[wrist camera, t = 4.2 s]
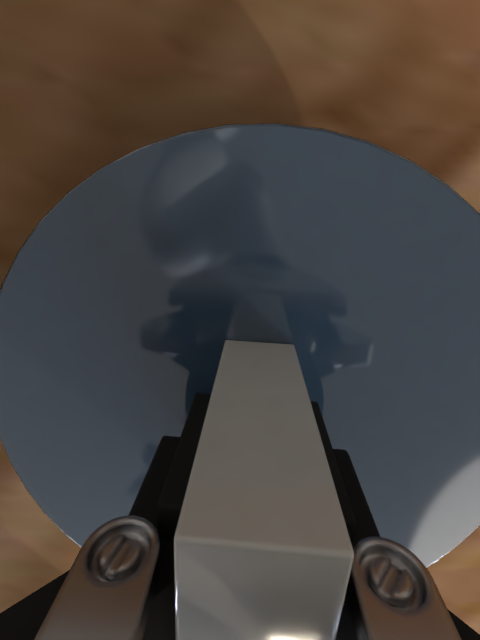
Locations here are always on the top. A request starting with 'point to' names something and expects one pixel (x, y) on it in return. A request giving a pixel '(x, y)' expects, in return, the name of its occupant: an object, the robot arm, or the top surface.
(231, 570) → the rotary dial knob
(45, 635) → the robot arm
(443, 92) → the top surface
